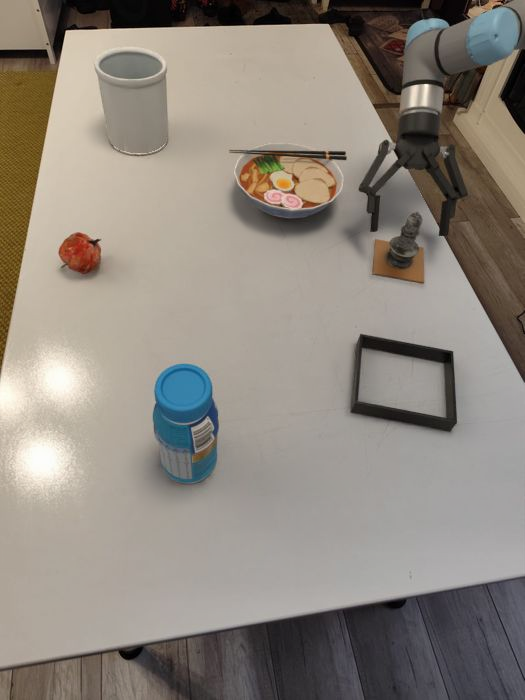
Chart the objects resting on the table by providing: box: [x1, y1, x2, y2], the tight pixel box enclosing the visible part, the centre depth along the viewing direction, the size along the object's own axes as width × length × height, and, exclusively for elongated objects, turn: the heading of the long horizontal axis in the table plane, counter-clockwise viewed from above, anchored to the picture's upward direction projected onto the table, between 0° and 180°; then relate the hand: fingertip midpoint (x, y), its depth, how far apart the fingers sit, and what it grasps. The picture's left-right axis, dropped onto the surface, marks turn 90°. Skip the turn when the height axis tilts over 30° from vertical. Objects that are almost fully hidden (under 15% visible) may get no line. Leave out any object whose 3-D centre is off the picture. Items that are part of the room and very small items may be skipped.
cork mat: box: [372, 238, 425, 284], centre depth 104 cm, size 10×10×1 cm
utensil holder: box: [93, 46, 169, 156], centre depth 115 cm, size 15×15×18 cm
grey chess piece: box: [386, 211, 423, 269], centre depth 99 cm, size 6×6×12 cm
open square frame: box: [350, 333, 458, 432], centre depth 86 cm, size 16×14×3 cm
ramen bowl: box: [228, 141, 348, 220], centre depth 109 cm, size 25×23×8 cm
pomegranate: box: [58, 231, 102, 275], centre depth 94 cm, size 7×7×10 cm
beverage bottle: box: [152, 363, 220, 484], centre depth 68 cm, size 8×8×20 cm
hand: (408, 233), depth 99 cm, fingers open, 13 cm apart
